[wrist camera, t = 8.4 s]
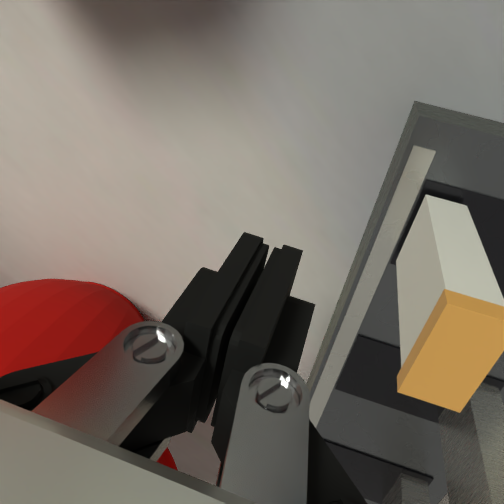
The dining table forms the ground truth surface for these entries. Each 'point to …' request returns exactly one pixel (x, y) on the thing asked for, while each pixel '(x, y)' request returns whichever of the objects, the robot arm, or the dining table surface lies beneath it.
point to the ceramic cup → (61, 324)
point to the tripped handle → (446, 307)
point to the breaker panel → (388, 334)
